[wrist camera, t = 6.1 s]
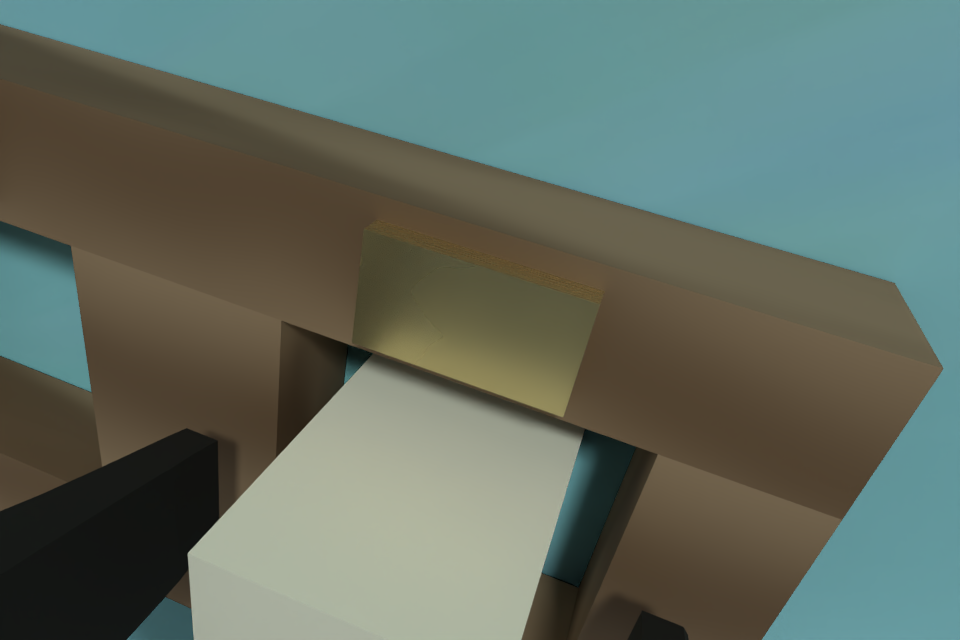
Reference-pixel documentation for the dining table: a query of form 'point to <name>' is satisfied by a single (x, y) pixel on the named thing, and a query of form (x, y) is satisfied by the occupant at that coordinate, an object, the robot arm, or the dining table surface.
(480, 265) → the brass tag
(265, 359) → the socket board
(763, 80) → the dining table surface
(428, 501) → the plug
